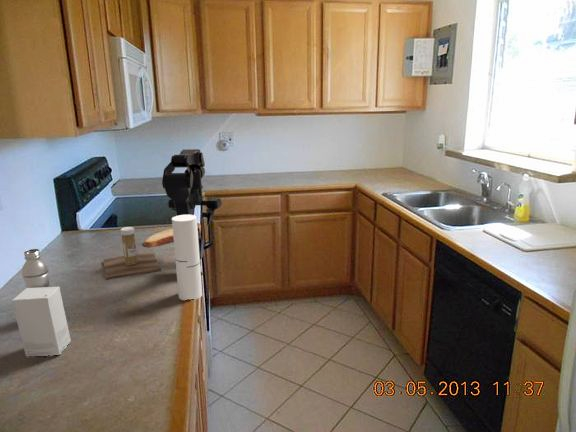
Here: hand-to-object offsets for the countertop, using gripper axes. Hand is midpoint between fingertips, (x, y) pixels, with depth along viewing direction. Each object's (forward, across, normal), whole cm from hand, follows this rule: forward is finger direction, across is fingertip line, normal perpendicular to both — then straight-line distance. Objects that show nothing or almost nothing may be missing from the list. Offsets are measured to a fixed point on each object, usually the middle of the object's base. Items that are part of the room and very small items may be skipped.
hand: (196, 225), depth 158 cm
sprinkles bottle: (+12, -22, -11) cm, 27 cm away
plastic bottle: (+13, -28, -49) cm, 58 cm away
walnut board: (+13, -22, -11) cm, 27 cm away
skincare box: (+13, -16, -63) cm, 66 cm away
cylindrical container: (+13, +8, -31) cm, 34 cm away
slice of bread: (+14, -21, +19) cm, 31 cm away
